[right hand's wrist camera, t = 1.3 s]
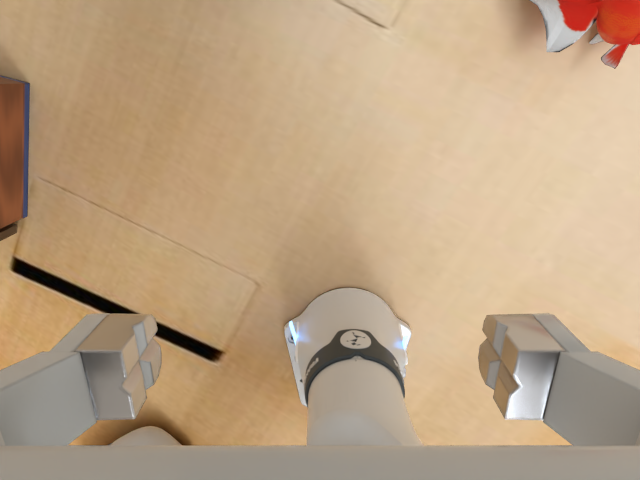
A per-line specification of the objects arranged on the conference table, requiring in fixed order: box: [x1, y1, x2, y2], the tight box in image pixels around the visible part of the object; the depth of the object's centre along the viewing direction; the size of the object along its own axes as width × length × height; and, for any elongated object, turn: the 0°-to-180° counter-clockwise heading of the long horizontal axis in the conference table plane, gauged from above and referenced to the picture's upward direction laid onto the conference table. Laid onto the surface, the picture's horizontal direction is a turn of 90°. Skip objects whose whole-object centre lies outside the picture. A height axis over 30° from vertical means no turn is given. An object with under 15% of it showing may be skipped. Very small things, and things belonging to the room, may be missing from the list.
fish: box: [530, 0, 640, 68], centre depth 44 cm, size 11×16×10 cm
